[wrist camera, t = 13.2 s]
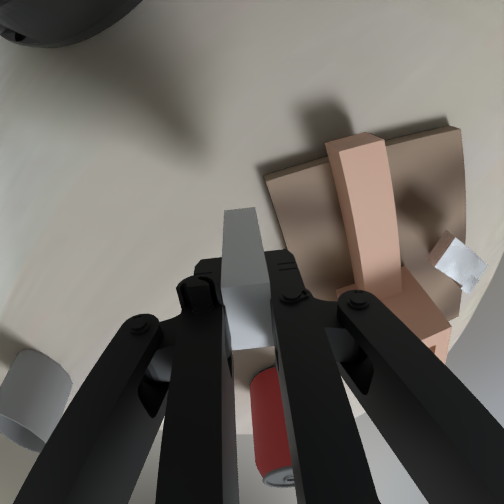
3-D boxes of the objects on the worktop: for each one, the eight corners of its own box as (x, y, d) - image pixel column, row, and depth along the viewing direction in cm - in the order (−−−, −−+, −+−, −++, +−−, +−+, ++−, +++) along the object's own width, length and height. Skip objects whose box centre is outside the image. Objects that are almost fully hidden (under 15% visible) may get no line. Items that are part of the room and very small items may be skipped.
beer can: (244, 396, 34) (250, 490, 24) (256, 360, 31) (266, 466, 21) (298, 398, 35) (315, 487, 25) (316, 363, 32) (342, 462, 22)
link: (406, 318, 28) (442, 378, 21) (345, 340, 29) (371, 408, 22) (386, 126, 19) (456, 152, 12) (300, 149, 20) (338, 185, 13)
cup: (84, 390, 33) (64, 455, 25) (46, 395, 34) (25, 451, 25) (42, 344, 29) (9, 411, 21) (7, 353, 30) (-23, 411, 21)
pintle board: (263, 175, 22) (278, 215, 16) (449, 125, 21) (512, 147, 14) (320, 358, 32) (336, 416, 25) (452, 308, 30) (485, 353, 23)
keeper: (430, 253, 26) (468, 294, 20) (392, 228, 25) (432, 270, 19) (447, 229, 25) (489, 266, 19) (410, 201, 24) (455, 237, 18)
